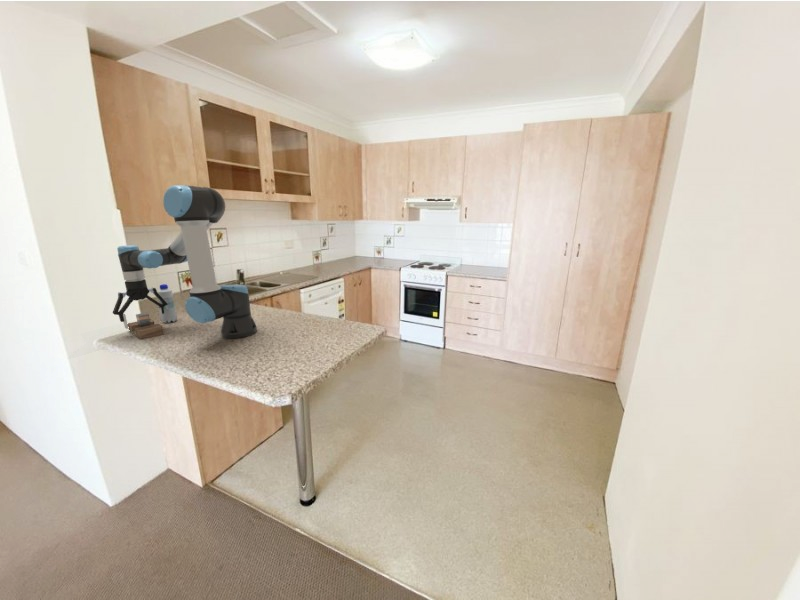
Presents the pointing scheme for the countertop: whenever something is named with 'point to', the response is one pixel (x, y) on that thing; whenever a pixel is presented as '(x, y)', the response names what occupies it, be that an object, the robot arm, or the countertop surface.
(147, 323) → the grey rectangular block
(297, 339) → the countertop surface
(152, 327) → the brown ridged block
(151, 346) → the countertop surface
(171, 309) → the bottle
